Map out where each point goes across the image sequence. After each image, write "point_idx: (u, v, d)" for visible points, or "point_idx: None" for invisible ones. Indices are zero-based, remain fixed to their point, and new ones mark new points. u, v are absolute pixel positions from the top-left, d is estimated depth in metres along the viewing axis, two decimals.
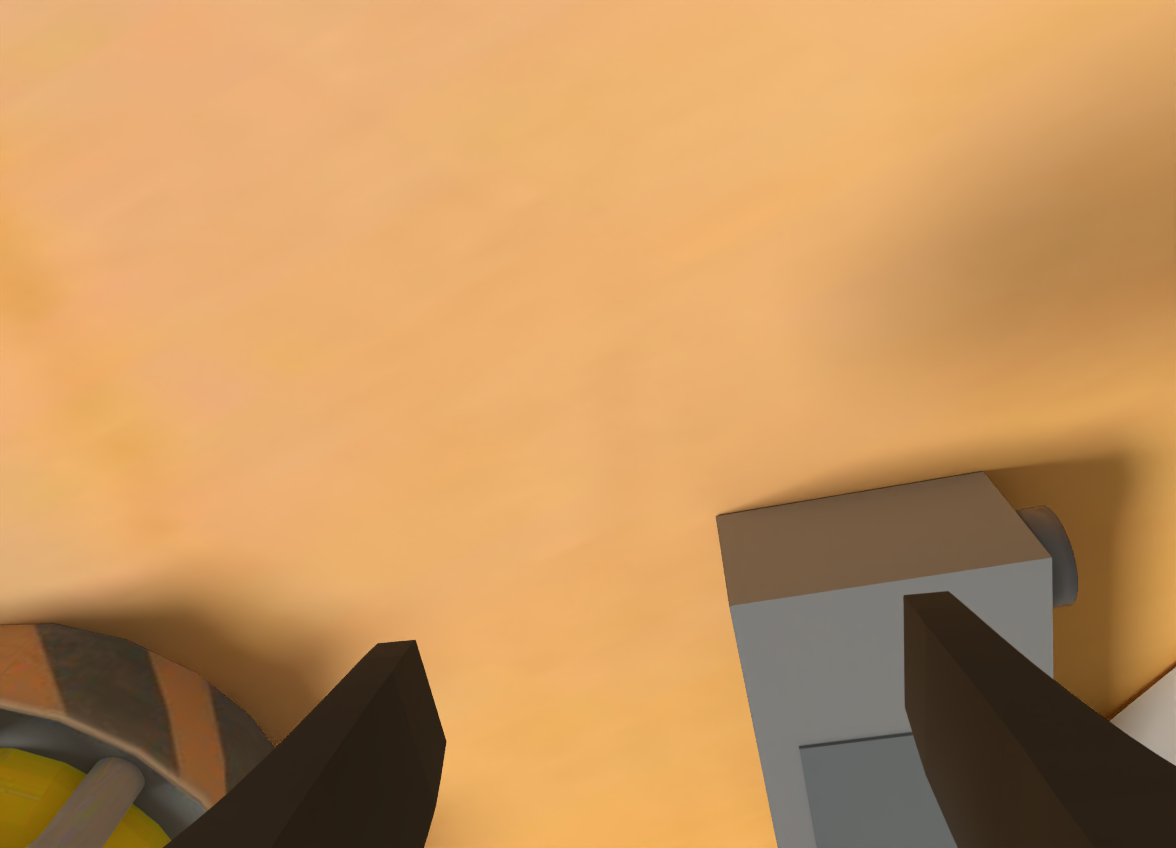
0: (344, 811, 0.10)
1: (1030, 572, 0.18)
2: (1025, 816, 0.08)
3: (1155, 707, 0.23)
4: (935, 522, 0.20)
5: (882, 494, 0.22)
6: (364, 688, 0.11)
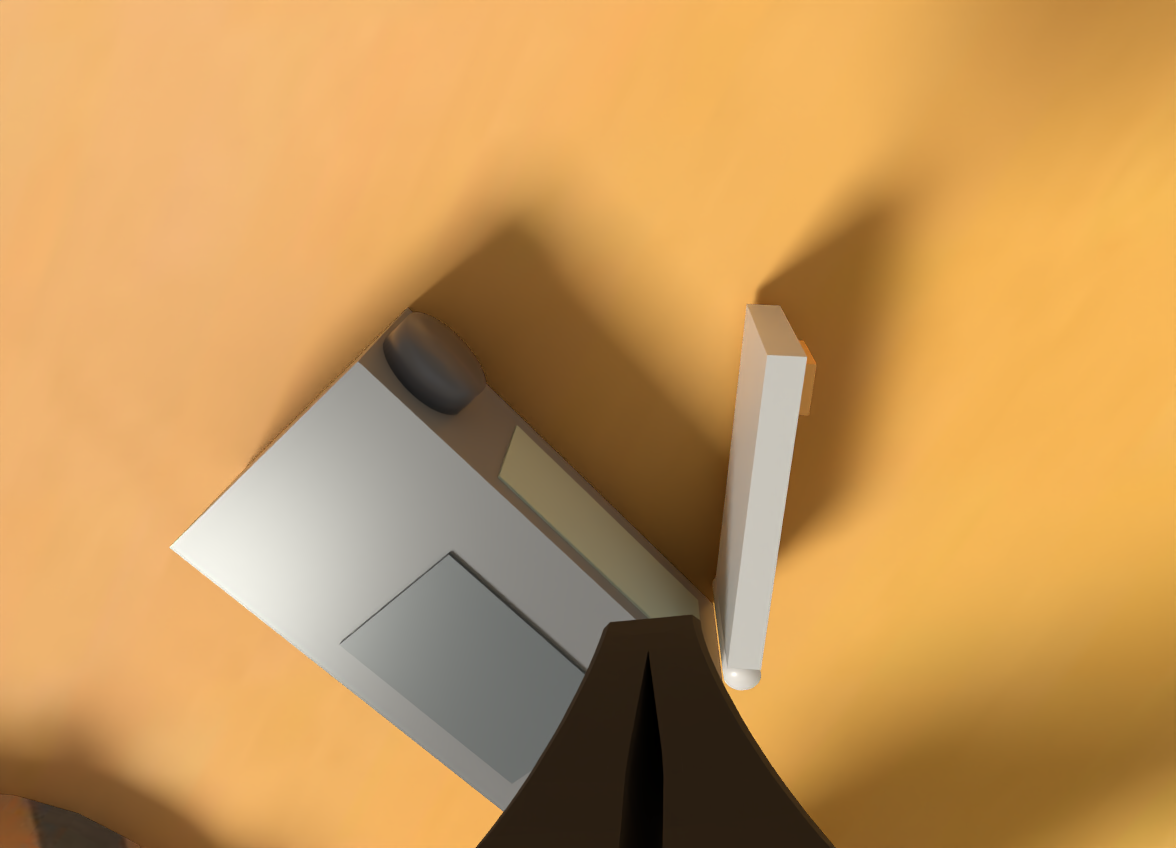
0: (639, 791, 0.09)
1: (355, 384, 0.18)
2: None
3: (734, 440, 0.21)
4: None
5: None
6: (627, 665, 0.10)
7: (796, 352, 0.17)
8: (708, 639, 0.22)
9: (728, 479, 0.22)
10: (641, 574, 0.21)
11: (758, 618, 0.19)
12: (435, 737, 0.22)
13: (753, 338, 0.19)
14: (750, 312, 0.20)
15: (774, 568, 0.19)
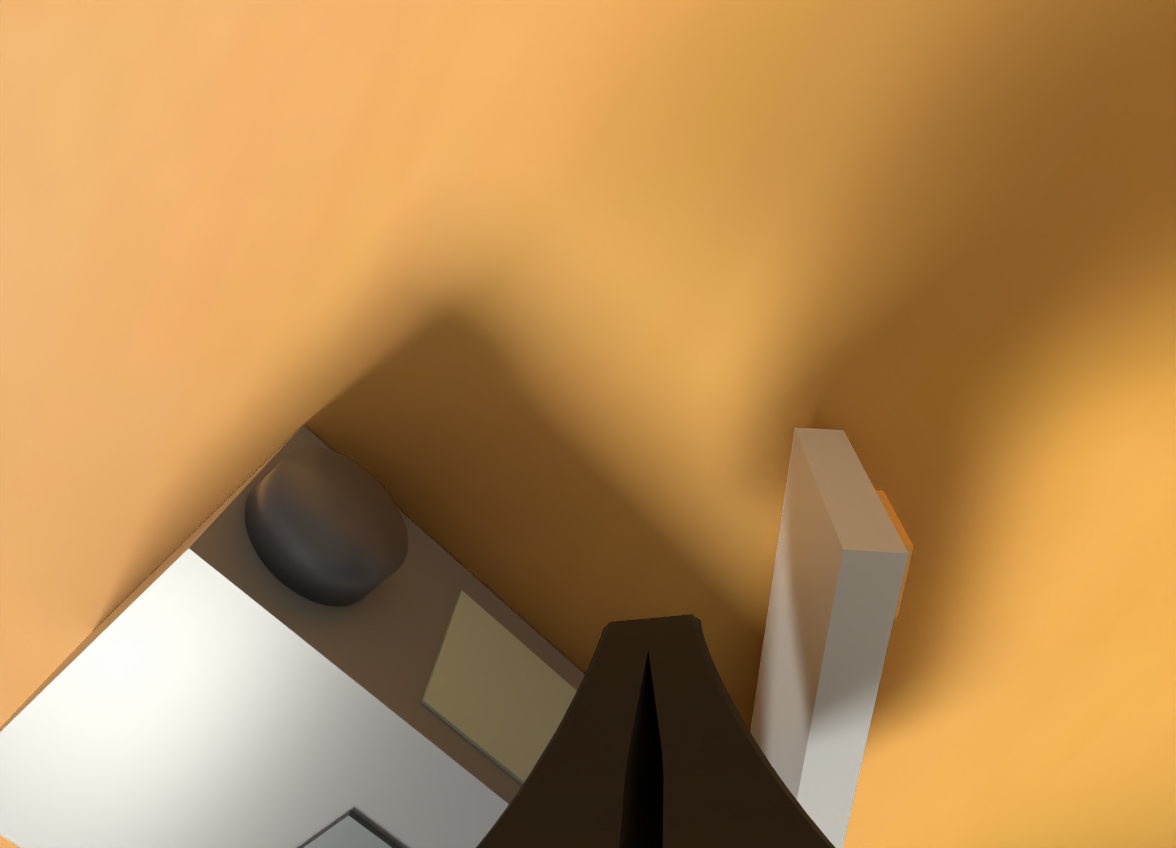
0: (639, 791, 0.09)
1: (187, 581, 0.11)
2: None
3: (774, 616, 0.15)
4: (187, 542, 0.13)
5: (207, 519, 0.15)
6: (627, 665, 0.10)
7: (888, 541, 0.10)
8: None
9: (763, 663, 0.15)
10: None
11: None
12: None
13: (810, 493, 0.12)
14: (802, 445, 0.13)
15: (841, 841, 0.12)
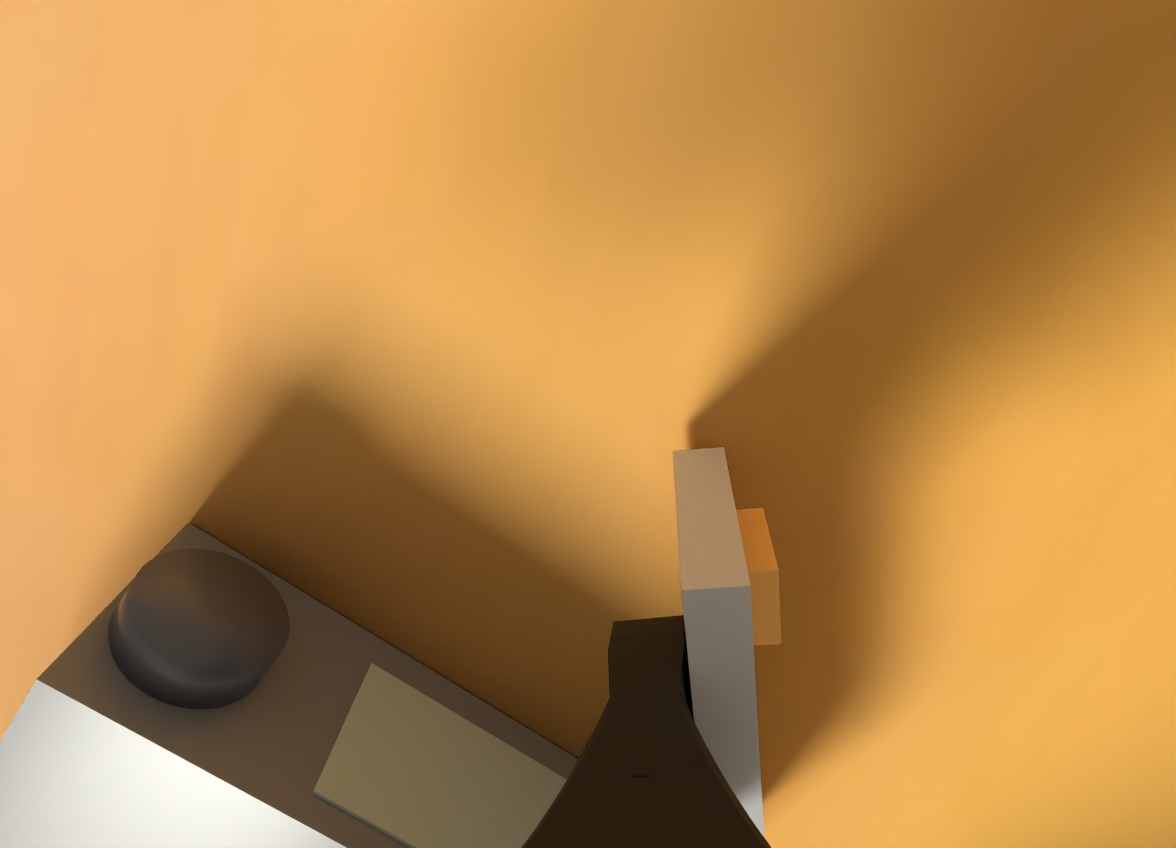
0: None
1: (45, 710, 0.11)
2: None
3: None
4: None
5: None
6: (664, 662, 0.10)
7: (733, 574, 0.10)
8: None
9: None
10: None
11: None
12: None
13: None
14: (675, 471, 0.12)
15: None
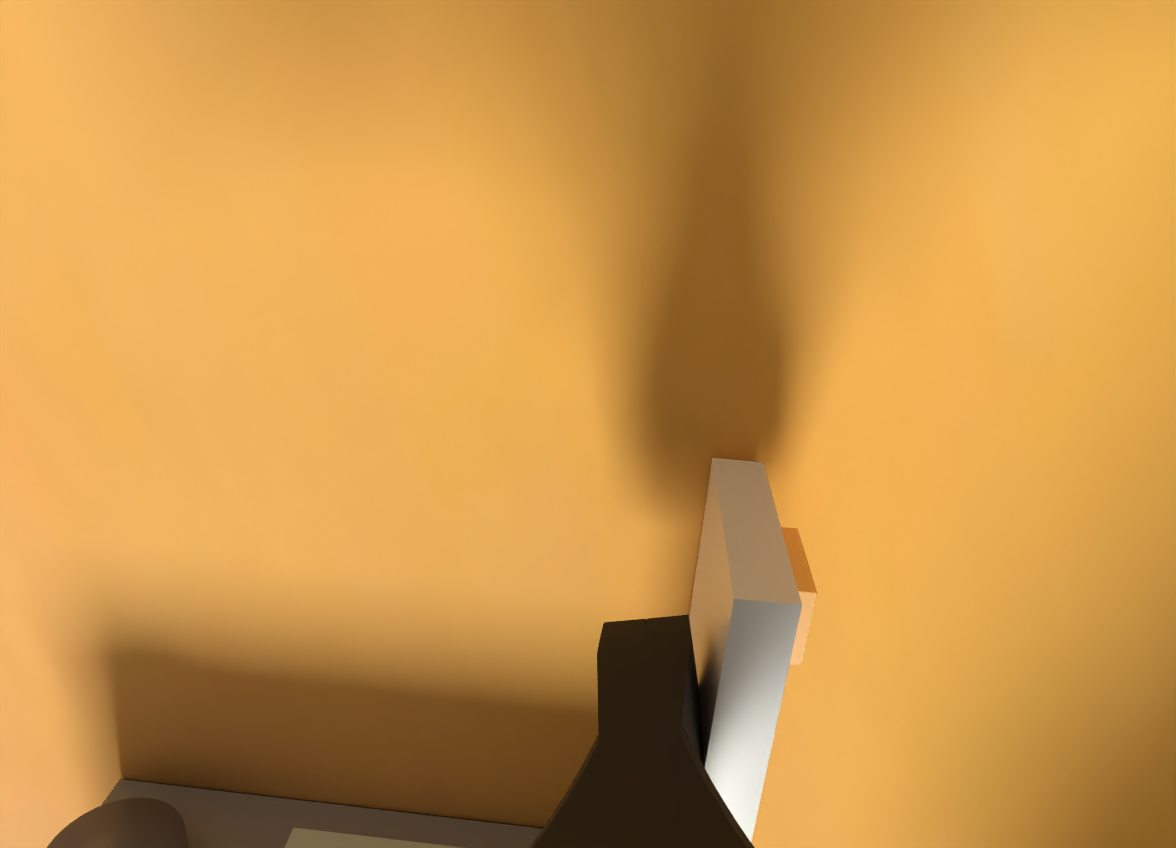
0: None
1: None
2: None
3: None
4: None
5: None
6: (670, 662, 0.10)
7: (784, 591, 0.10)
8: None
9: None
10: None
11: None
12: None
13: (717, 531, 0.12)
14: (716, 478, 0.13)
15: None
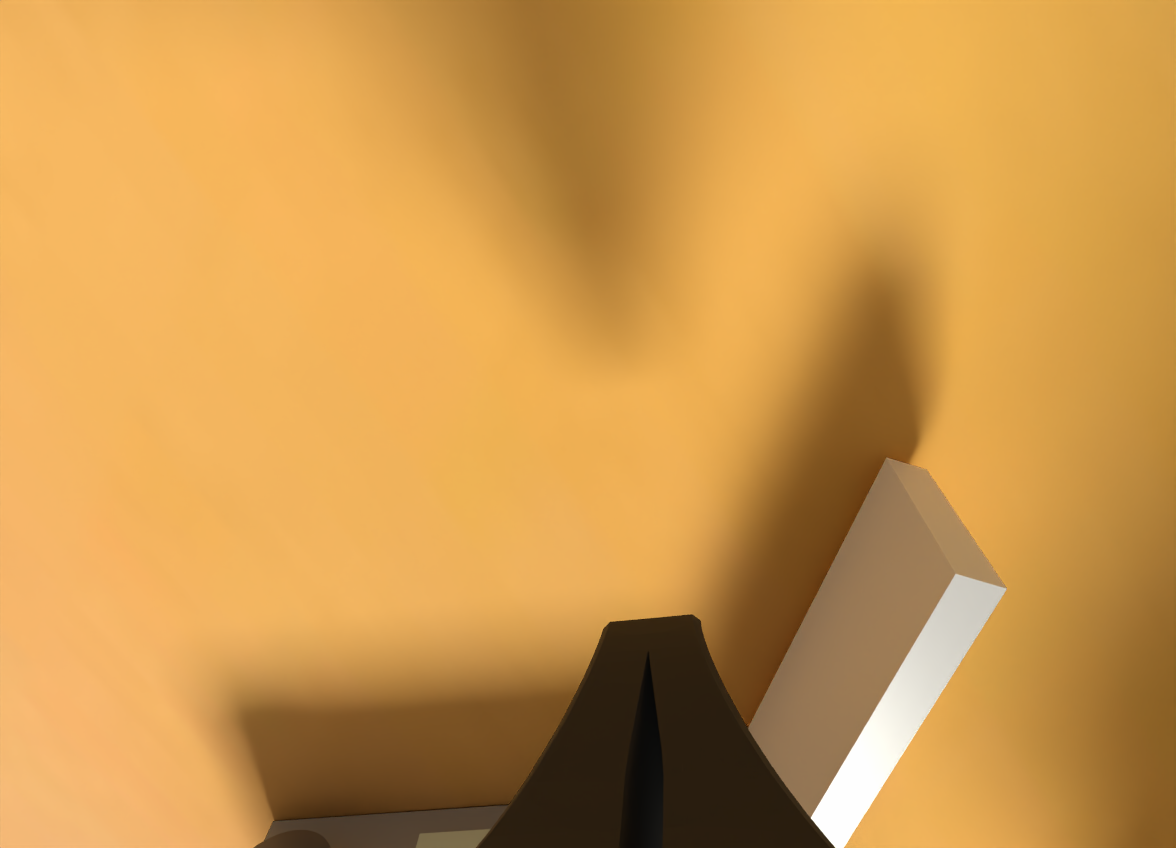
0: (639, 791, 0.09)
1: None
2: None
3: (819, 618, 0.16)
4: None
5: None
6: (627, 666, 0.10)
7: (989, 575, 0.12)
8: None
9: (790, 657, 0.17)
10: None
11: None
12: None
13: (905, 519, 0.14)
14: (896, 475, 0.15)
15: (856, 821, 0.14)
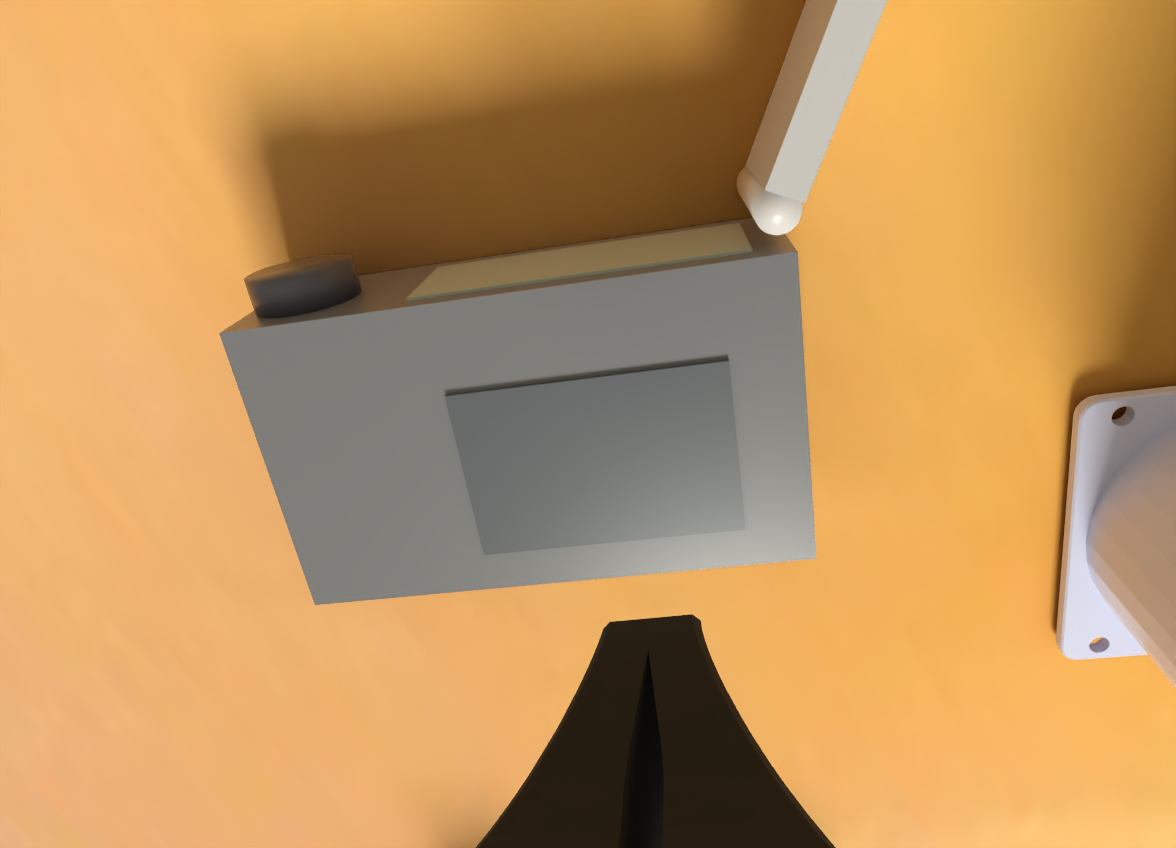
0: (639, 791, 0.09)
1: (239, 351, 0.18)
2: None
3: None
4: None
5: None
6: (627, 666, 0.10)
7: None
8: (764, 233, 0.18)
9: (805, 9, 0.17)
10: (635, 250, 0.18)
11: (826, 118, 0.15)
12: (642, 554, 0.19)
13: None
14: None
15: (869, 41, 0.14)
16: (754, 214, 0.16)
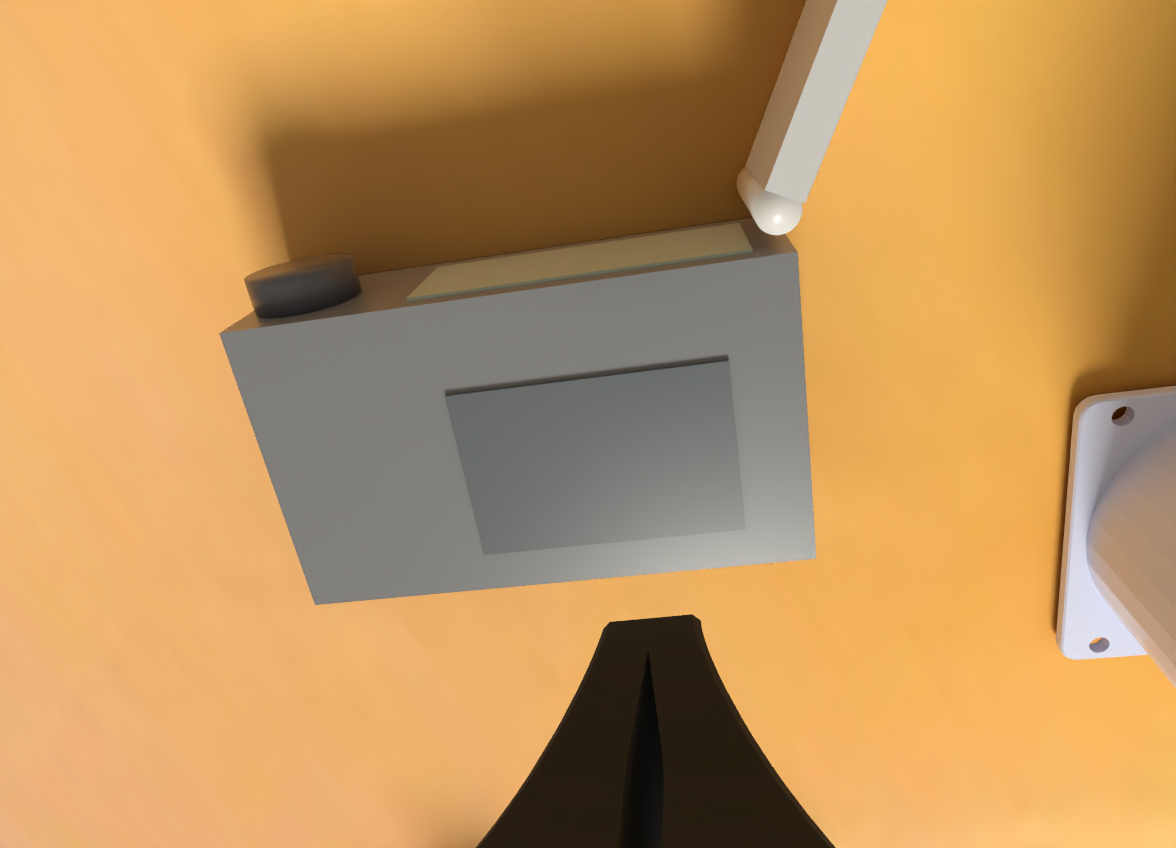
0: (639, 791, 0.09)
1: (239, 351, 0.18)
2: None
3: None
4: None
5: None
6: (627, 666, 0.10)
7: None
8: (764, 233, 0.18)
9: (805, 9, 0.17)
10: (635, 250, 0.18)
11: (826, 118, 0.15)
12: (642, 554, 0.19)
13: None
14: None
15: (869, 41, 0.14)
16: (754, 214, 0.16)
